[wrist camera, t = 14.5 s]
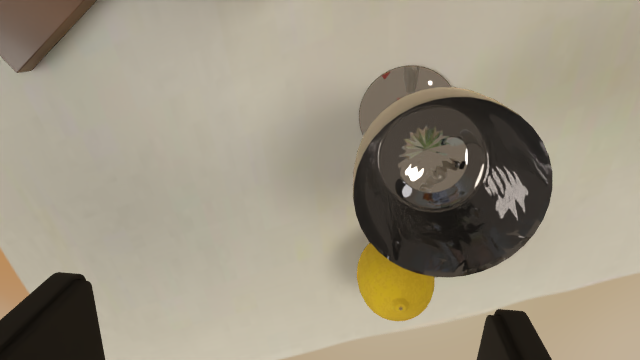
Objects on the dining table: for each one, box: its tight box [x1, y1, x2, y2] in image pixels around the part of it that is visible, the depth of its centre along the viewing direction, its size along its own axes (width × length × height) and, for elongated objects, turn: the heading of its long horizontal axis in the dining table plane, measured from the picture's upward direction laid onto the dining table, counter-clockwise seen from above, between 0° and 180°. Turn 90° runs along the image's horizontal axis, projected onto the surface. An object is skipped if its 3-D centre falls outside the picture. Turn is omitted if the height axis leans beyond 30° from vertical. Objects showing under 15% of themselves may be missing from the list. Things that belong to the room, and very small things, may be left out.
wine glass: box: [353, 66, 552, 277], centre depth 25 cm, size 8×8×15 cm
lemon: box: [357, 243, 434, 321], centre depth 32 cm, size 6×6×8 cm
